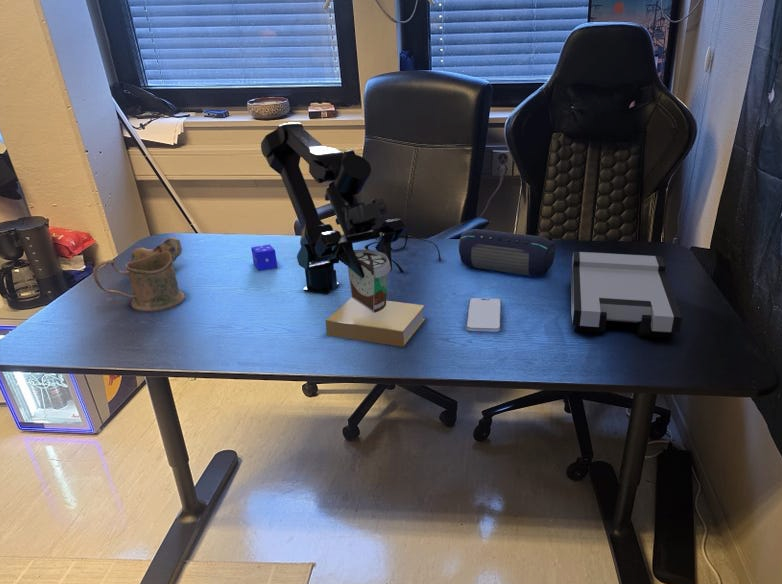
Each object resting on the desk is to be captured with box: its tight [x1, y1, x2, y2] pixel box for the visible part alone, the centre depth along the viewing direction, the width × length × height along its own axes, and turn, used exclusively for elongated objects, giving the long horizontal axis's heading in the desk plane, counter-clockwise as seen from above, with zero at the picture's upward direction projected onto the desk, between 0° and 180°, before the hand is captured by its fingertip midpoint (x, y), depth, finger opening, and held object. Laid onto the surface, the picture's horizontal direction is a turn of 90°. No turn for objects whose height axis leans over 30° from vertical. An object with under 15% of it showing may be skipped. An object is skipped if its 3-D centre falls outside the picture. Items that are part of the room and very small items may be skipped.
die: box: [250, 244, 278, 272], centre depth 165 cm, size 5×5×5 cm
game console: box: [570, 251, 683, 339], centre depth 139 cm, size 21×32×8 cm, turn 171°
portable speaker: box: [458, 228, 556, 277], centre depth 161 cm, size 25×10×10 cm, turn 68°
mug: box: [92, 251, 186, 312], centre depth 141 cm, size 12×18×12 cm, turn 137°
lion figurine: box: [130, 236, 183, 263], centre depth 160 cm, size 15×5×9 cm, turn 103°
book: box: [325, 297, 426, 348], centre depth 133 cm, size 17×13×4 cm
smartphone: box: [465, 297, 502, 333], centre depth 139 cm, size 7×1×15 cm
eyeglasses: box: [364, 234, 442, 274], centre depth 170 cm, size 16×16×4 cm
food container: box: [347, 249, 392, 313], centre depth 129 cm, size 12×6×10 cm, turn 36°
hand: (377, 273), depth 127 cm, fingers closed on food container, 6 cm apart
